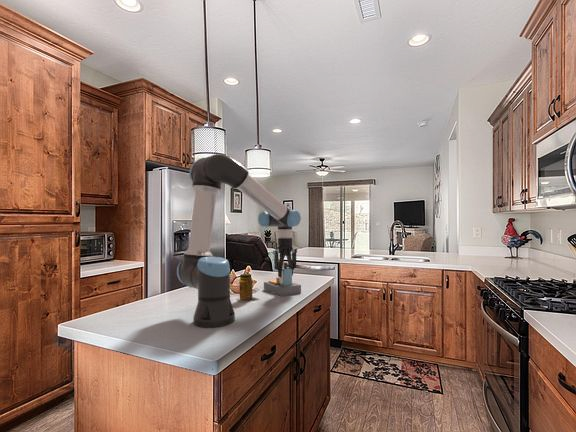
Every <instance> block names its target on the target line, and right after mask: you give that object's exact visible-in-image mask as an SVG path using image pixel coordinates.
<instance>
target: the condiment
mask: <svg viewBox="0 0 576 432" xmlns="http://www.w3.org/2000/svg"><path fill="white" fill-rule="evenodd" d="M236 300H237V301H240V302H243V303H247V302H252V301H255V300H256V301H257V300H259V298H257V297H255V296H253V280H252V274H251V273H240V276H239V298H236Z"/></svg>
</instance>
